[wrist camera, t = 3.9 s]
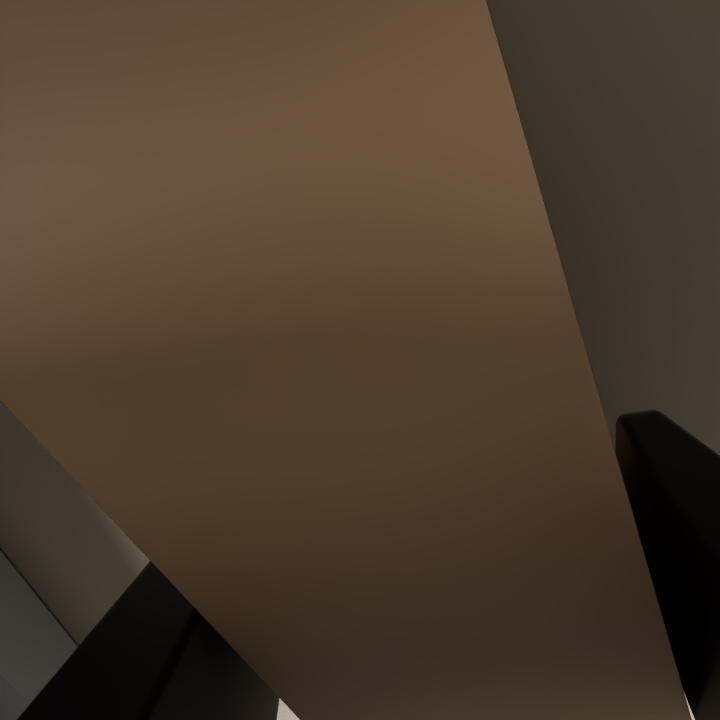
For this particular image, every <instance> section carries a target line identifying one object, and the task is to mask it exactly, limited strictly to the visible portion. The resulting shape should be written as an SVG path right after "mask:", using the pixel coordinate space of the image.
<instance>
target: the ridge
mask: <svg viewBox="0 0 720 720" xmlns="http://www.w3.org/2000/svg"><path fill="white" fill-rule="evenodd" d="M77 647H78V646H77V645H76V644H75V643H74V642H73V640H72V639H71V638H70V637H69V635H68V634H67V633H66V632H65V630H64V629H63V628H62V627H61V625H60V624H59V623H58V622H57V620H56V619H55V618H54V617H53V615H52V614H51V613H50V612H49V610H48V609H47V608H46V607H45V605H44V604H43V603H42V602H41V600H40V599H39V598H38V597H37V596H36V594H35V593H34V592H33V591H32V589H31V588H30V587H29V586H28V584H27V583H26V582H25V581H24V579H23V578H22V577H21V576H20V574H19V573H18V572H17V571H16V569H15V568H14V567H13V566H12V564H11V563H10V562H9V561H8V559H7V558H6V557H5V556H4V554H3V553H2V552H1V551H0V720H17V718H18V717H19V716H20V715H21V714H22V713H23V711H24V710H25V709H26V708H27V707H28V705H29V704H30V703H31V702H32V701H33V699H34V698H35V697H36V696H37V695H38V694H39V692H40V691H41V690H42V689H43V688H44V686H45V685H46V684H47V683H48V682H49V681H50V679H51V678H52V677H53V676H54V675H55V673H56V672H57V671H58V670H59V669H60V667H61V666H62V665H63V664H64V663H65V662H66V660H67V659H68V658H69V657H70V656H71V654H72V653H73V652H74V651H75V650H76V649H77Z"/></svg>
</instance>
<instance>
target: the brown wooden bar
mask: <svg viewBox="0 0 720 720" xmlns="http://www.w3.org/2000/svg"><path fill="white" fill-rule="evenodd" d="M0 401H1V402H2V403H3V404H4V405H5V406H6V408H7V409H8V410H9V411H10V412H11V413H12V414H13V415H14V416H15V417H16V418H17V419H18V420H19V421H20V422H21V423H22V425H23V426H24V427H25V428H26V429H27V430H28V431H29V432H30V433H31V434H32V435H33V436H34V437H35V438H36V439H37V440H38V442H39V443H40V444H41V445H42V446H43V447H44V448H45V449H46V450H47V451H48V452H49V453H50V454H51V455H52V456H53V457H54V459H55V460H56V461H57V462H58V463H59V464H60V465H61V466H62V467H63V468H64V469H65V470H66V471H67V472H68V473H69V474H70V476H71V477H72V478H73V479H74V480H75V481H76V482H77V483H78V484H79V485H80V486H81V487H82V488H83V489H84V490H85V491H86V493H87V494H88V495H89V496H90V497H91V498H92V499H93V500H94V501H95V502H96V503H97V504H98V505H99V506H100V507H101V508H102V510H103V511H104V512H105V513H106V514H107V515H108V516H109V517H110V518H111V519H112V520H113V521H114V522H115V523H116V524H117V525H118V527H119V528H120V529H121V530H122V531H123V532H124V533H125V534H126V535H127V536H128V537H129V538H130V539H131V540H132V541H133V542H134V544H135V545H136V546H137V547H138V548H139V549H140V550H141V551H142V552H143V553H144V554H145V555H146V556H147V557H148V558H149V559H150V561H151V562H152V563H153V564H154V565H155V566H156V567H157V568H158V569H159V570H160V571H161V572H162V573H163V574H164V575H165V576H166V578H167V579H168V580H169V581H170V582H171V583H172V584H173V585H174V586H175V587H176V588H177V589H178V590H179V591H180V592H181V593H182V595H183V596H184V597H185V598H186V599H187V600H188V601H189V602H190V603H191V604H192V605H193V606H194V607H195V608H196V609H197V610H198V612H199V613H200V614H201V615H202V616H203V617H204V618H205V619H206V620H207V621H208V622H209V623H210V624H211V625H212V626H213V627H214V629H215V630H216V631H217V632H218V633H219V634H220V635H221V636H222V637H223V638H224V639H225V640H226V641H227V642H228V643H229V644H230V646H231V647H232V648H233V649H234V650H235V651H236V652H237V653H238V654H239V655H240V656H241V657H242V658H243V659H244V660H245V661H246V663H247V664H248V665H249V666H250V667H251V668H252V669H253V670H254V671H255V672H256V673H257V674H258V675H259V676H260V677H261V678H262V680H263V681H264V682H265V683H266V684H267V685H268V686H269V687H270V688H271V689H272V690H273V691H274V692H275V693H276V694H277V695H278V697H279V698H280V699H281V700H282V701H283V702H284V703H285V704H286V705H287V706H288V707H289V708H290V709H291V710H292V711H293V712H294V714H295V715H296V716H297V717H298V718H299V719H300V720H692V719H691V716H690V712H689V709H688V705H687V702H686V698H685V695H684V691H683V688H682V684H681V681H680V677H679V674H678V670H677V667H676V663H675V660H674V656H673V653H672V649H671V646H670V642H669V639H668V635H667V632H666V628H665V625H664V621H663V618H662V614H661V611H660V607H659V604H658V600H657V597H656V593H655V590H654V586H653V583H652V579H651V576H650V572H649V569H648V565H647V562H646V558H645V555H644V551H643V548H642V544H641V541H640V537H639V534H638V530H637V527H636V523H635V520H634V516H633V513H632V509H631V506H630V502H629V499H628V495H627V492H626V488H625V485H624V481H623V478H622V474H621V471H620V467H619V464H618V460H617V457H616V453H615V450H614V446H613V443H612V439H611V436H610V432H609V429H608V425H607V422H606V419H605V415H604V412H603V408H602V405H601V401H600V398H599V394H598V391H597V387H596V384H595V380H594V377H593V373H592V370H591V366H590V363H589V359H588V356H587V352H586V349H585V345H584V342H583V338H582V335H581V331H580V328H579V324H578V321H577V317H576V314H575V310H574V307H573V303H572V300H571V296H570V293H569V289H568V286H567V282H566V279H565V275H564V272H563V268H562V265H561V261H560V258H559V254H558V251H557V247H556V244H555V240H554V237H553V233H552V230H551V226H550V223H549V219H548V216H547V212H546V209H545V205H544V202H543V198H542V195H541V191H540V188H539V184H538V181H537V177H536V174H535V170H534V167H533V163H532V160H531V156H530V153H529V149H528V146H527V142H526V139H525V135H524V132H523V128H522V125H521V121H520V118H519V114H518V111H517V107H516V104H515V100H514V97H513V93H512V90H511V86H510V83H509V79H508V76H507V72H506V69H505V65H504V62H503V58H502V55H501V51H500V48H499V44H498V41H497V37H496V34H495V30H494V27H493V23H492V20H491V16H490V13H489V9H488V6H487V2H486V0H0Z"/></svg>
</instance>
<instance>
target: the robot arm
mask: <svg viewBox="0 0 720 720" xmlns="http://www.w3.org/2000/svg"><path fill="white" fill-rule="evenodd" d="M616 457H617V460H618V464H619V467H620V471H621V474H622V478H623V481H624V485H625V488H626V492H627V495H628V499H629V502H630V506H631V509H632V513H633V516H634V520H635V523H636V527H637V530H638V534H639V537H640V541H641V544H642V548H643V551H644V555H645V558H646V562H647V565H648V569H649V572H650V576H651V579H652V583H653V586H654V590H655V593H656V597H657V600H658V604H659V607H660V611H661V614H662V618H663V621H664V625H665V628H666V632H667V635H668V639H669V642H670V646H671V649H672V653H673V656H674V660H675V663H676V667H677V670H678V674H679V677H680V681H681V684H682V688H683V691H684V693H685V696H686V698H687V701H688V703H689V705H690V708H691V710H692V713H693V715H694V718H695V720H720V455H718V454H717V453H715V452H714V451H713V450H711V449H710V448H709V447H707V446H706V445H705V444H703V443H702V442H701V441H699V440H698V439H697V438H695V437H694V436H692V435H691V434H690V433H688V432H687V431H686V430H684V429H683V428H682V427H680V426H679V425H678V424H676V423H675V422H673V421H672V420H671V419H669V418H668V417H667V416H665V415H664V414H662V413H661V412H659V411H656V410H648V411H640V412H632V413H625V414H622V415H620V416H619V417H618V419H617V421H616ZM278 705H279V697H278V695H277V694H276V693H275V692H274V691H273V690H272V689H271V688H270V687H269V686H268V685H267V684H266V683H265V682H264V681H263V680H262V678H261V677H260V676H259V675H258V674H257V673H256V672H255V671H254V670H253V669H252V668H251V667H250V666H249V665H248V664H247V663H246V661H245V660H244V659H243V658H242V657H241V656H240V655H239V654H238V653H237V652H236V651H235V650H234V649H233V648H232V647H231V646H230V644H229V643H228V642H227V641H226V640H225V639H224V638H223V637H222V636H221V635H220V634H219V633H218V632H217V631H216V630H215V629H214V627H213V626H212V625H211V624H210V623H209V622H208V621H207V620H206V619H205V618H204V617H203V616H202V615H201V614H200V613H199V612H198V610H197V609H196V608H195V607H194V606H193V605H192V604H191V603H190V602H189V601H188V600H187V599H186V598H185V597H184V596H183V595H182V593H181V592H180V591H179V590H178V589H177V588H176V587H175V586H174V585H173V584H172V583H171V582H170V581H169V580H168V579H167V578H166V576H165V575H164V574H163V573H162V572H161V571H160V570H159V569H158V568H157V567H156V566H155V565H154V564H153V563H152V562H151V561H150V562H149V563H148V564H147V566H146V567H145V568H144V569H143V570H142V572H141V573H140V574H139V575H138V576H137V577H136V579H135V580H134V581H133V582H132V583H131V585H130V586H129V587H128V588H127V589H126V591H125V592H124V593H123V594H122V595H121V596H120V598H119V599H118V600H117V601H116V602H115V604H114V605H113V606H112V607H111V608H110V609H109V611H108V612H107V613H106V614H105V615H104V617H103V618H102V619H101V620H100V621H99V622H98V624H97V625H96V626H95V627H94V628H93V630H92V631H91V632H90V633H89V634H88V636H87V637H86V638H85V639H84V640H83V641H82V643H81V644H80V645H79V646H78V647H77V649H76V650H75V651H74V652H73V653H72V654H71V656H70V657H69V658H68V659H67V660H66V662H65V663H64V664H63V665H62V666H61V667H60V669H59V670H58V671H57V672H56V673H55V675H54V676H53V677H52V678H51V679H50V681H49V682H48V683H47V684H46V685H45V686H44V688H43V689H42V690H41V691H40V692H39V694H38V695H37V696H36V697H35V698H34V699H33V701H32V702H31V703H30V704H29V705H28V707H27V708H26V709H25V710H24V711H23V713H22V714H21V715H20V716H19V717H18V718H17V720H277V712H278Z"/></svg>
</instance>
